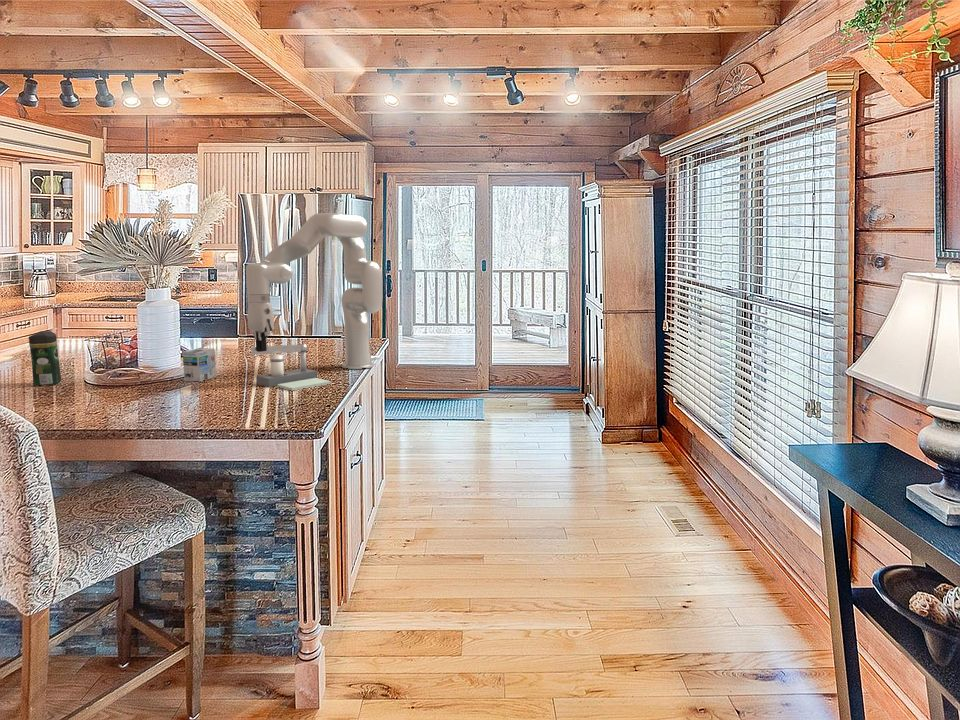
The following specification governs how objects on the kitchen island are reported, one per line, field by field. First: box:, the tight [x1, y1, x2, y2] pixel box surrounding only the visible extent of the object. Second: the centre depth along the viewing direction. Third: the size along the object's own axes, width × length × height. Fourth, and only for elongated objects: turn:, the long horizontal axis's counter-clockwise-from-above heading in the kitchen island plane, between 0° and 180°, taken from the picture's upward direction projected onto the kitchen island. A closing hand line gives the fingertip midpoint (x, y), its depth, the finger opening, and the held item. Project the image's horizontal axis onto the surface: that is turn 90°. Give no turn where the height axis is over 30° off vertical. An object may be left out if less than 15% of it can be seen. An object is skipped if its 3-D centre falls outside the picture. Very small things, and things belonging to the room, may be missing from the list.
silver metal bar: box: [250, 343, 308, 355], centre depth 258 cm, size 19×3×2 cm, turn 115°
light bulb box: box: [182, 347, 217, 383], centre depth 262 cm, size 11×7×11 cm, turn 168°
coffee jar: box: [28, 330, 62, 386], centre depth 251 cm, size 10×8×19 cm
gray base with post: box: [255, 351, 318, 388], centre depth 258 cm, size 20×8×10 cm, turn 138°
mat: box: [276, 377, 332, 392], centre depth 252 cm, size 16×9×1 cm, turn 138°
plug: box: [269, 353, 285, 377], centre depth 255 cm, size 4×4×10 cm
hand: (261, 351), depth 253 cm, fingers closed
